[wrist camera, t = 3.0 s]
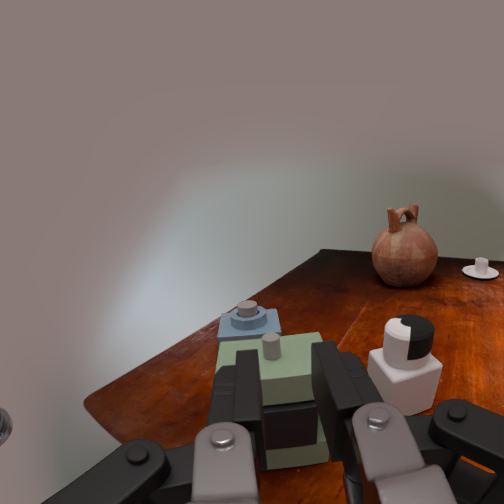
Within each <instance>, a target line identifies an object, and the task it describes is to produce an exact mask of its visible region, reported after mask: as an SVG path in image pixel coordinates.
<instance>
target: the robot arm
mask: <svg viewBox="0 0 504 504" xmlns="http://www.w3.org/2000/svg"><path fill="white" fill-rule="evenodd" d="M311 383H312V391H313V396H314V399H315V403H316V406H317V410H318V413H319V417H320V421H321V424H322V428H323V431H324V435H325V439H326V442H327V446H328V449H329V453H330V457H331V460H332V462H337V461H342V463H343V466H344V473H343V483H344V489H345V495H346V501H347V504H504V417H503V416H501V415H498V414H496V413H494V412H491V411H489V410H486V409H484V408H482V407H479V406H477V405H475V404H472V403H470V402H468V401H465V400H461V399H449V400H446V401H443V402H441V403H440V404H438V405H437V406H436V408H435V409H434V412H433V415H421V416H407V415H403V413H402V412H401V411H400V409H398V408H397V407H396V406H394V405H391V404H388V403H385V402H384V400H383V399H382V397H381V395H380V393H379V391H378V390H377V388H376V386H375V384H374V383H373V381H372V379H371V377H370V376H369V374H368V372H367V371H366V369H365V367H364V365H363V364H362V362H361V360H360V358H358V357H357V356H355V355H354V354H352V353H351V352H349V351H348V352H342V353H339V351H338V349H337V347H336V345H335V343H334V341H333V340H329V341H321V342H314V343H312V344H311ZM3 424H4V418H3V416H2V414H1V412H0V431H1V429H2V427H3ZM461 456H464V457H466V458H468V459H470V460H472V461H474V462H476V463H479V464H481V465H483V466H485V467H487V468H489V469H491V470H493V471H494V472H495V473H488V472H486V471H484V470H482V469H480V468H478V467H476V466H474V465H472V464H470V463H468V462H466V461H464V460H462V459H460V457H461ZM260 471H267V456H266V441H265V425H264V410H263V396H262V385H261V375H260V366H259V357H258V349H249V350H237V351H236V362H235V365H224V366H221V368H220V369H219V370H218V371H217V372H216V374H215V375H214V381H213V387H212V395H211V400H210V407H209V413H208V419H207V426H206V427H205V428H204V429H202V430H201V431H200V432H199V433H198V435H197V437H196V439H195V441H194V442H192V443H190V444H188V445H185V446H181V447H177V448H172V449H167V450H164V449H163V448H162V446H161V445H160V444H158V443H157V442H155V441H153V440H149V439H135V440H131V441H128V442H126V443H124V444H123V445H121V446H120V447H118V448H117V449H116V450H115V451H113V452H112V453H111V454H110V455H108V456H107V457H105V458H104V459H103V460H101V461H100V462H99V463H97V464H96V465H95V466H93V467H92V468H91V469H89V470H88V471H87V472H85V473H84V474H83V475H81V476H80V477H78V478H77V479H76V480H75V481H73V482H71V483H70V484H69V485H67V486H66V487H64V488H63V489H62V490H60V491H59V492H57V493H56V494H54V495H53V496H51V497H50V498H48V499H47V500H45V501H44V502H42V503H41V504H261V497H260V490H259V489H260V484H261V482H260Z"/></svg>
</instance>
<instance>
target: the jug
mask: <svg viewBox="0 0 504 504" xmlns="http://www.w3.org/2000/svg"><path fill="white" fill-rule="evenodd" d="M387 212H388V221H389V227H387V228H386V229H384V230H383V231H382V232H381V233H380V234H379V236H378V237H377V239H376V240H375V242H374V244H373V248H372V260H373V264H374V267H375V269H376V271H377V272H378V274H379V276H380V277H381V278H382V280H383V281H384V282H385V283H386V284H388V285H390V286H394V287H413V286H417V285H420V284H421V283H423V282H424V281H425V280H426V279H427V278H428V276H429V275H430V274H431V273H432V271H433V270H434V268H435V265H436V262H437V257H438V249H437V246H436V244H435V242H434V240H433V239H432V238H431V236H430V235H429V234H428V233H427V232H426V231H425V230H424V229H423V228H421V227H419V226H418V225H417V216H418V206H417V205H414V204H410V205H409V209H407V208H400V209H398V210H396V211H394V210H393V209H392V208H388V209H387ZM403 214H405V216H406V218H407V219H406V222H401V223H400V219H401V217H402V215H403Z"/></svg>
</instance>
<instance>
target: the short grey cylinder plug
mask: <svg viewBox="0 0 504 504" xmlns="http://www.w3.org/2000/svg"><path fill="white" fill-rule="evenodd" d="M237 309H238V316H239V317H244V318H247V317H253V316H256V315H257V314H258V309H257V303H256V302H255V301H243V302H240V303H239V304H238V305H237Z"/></svg>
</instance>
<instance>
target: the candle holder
mask: <svg viewBox="0 0 504 504" xmlns="http://www.w3.org/2000/svg"><path fill="white" fill-rule="evenodd" d="M462 271H463V272H464V273H465V274H467V275H469V276H472V277H476V278H494V277H496V276H498V274H499V273H498V271H496V270H495V269H493V268H490V267H488V260H487V259H485V258H476V260H475V265H472V266H466V267H464V268H463V269H462Z"/></svg>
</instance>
